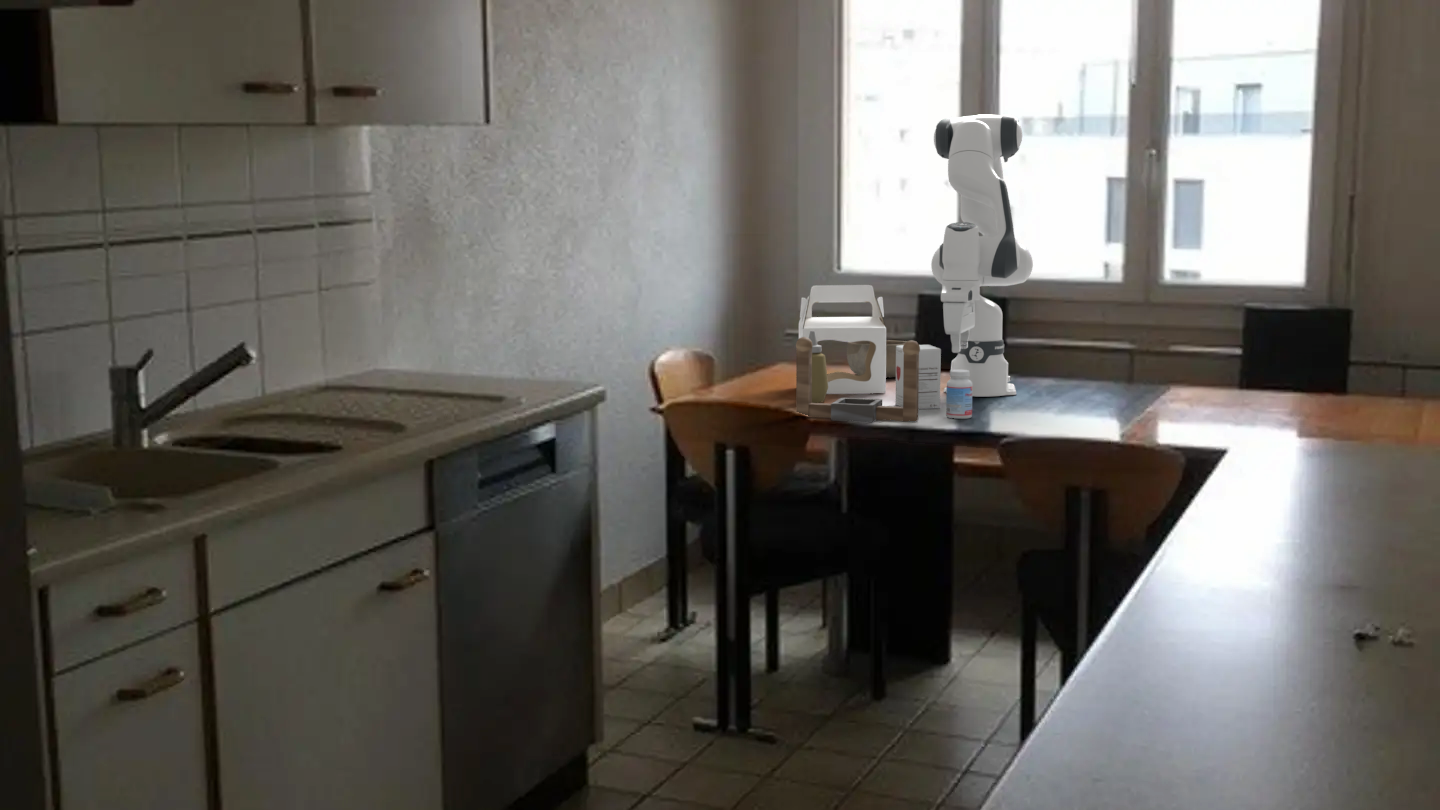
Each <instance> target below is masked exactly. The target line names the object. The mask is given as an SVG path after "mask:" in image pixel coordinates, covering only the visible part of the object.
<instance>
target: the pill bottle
mask: <svg viewBox="0 0 1440 810" xmlns="http://www.w3.org/2000/svg"><path fill="white" fill-rule="evenodd" d="M950 377H951V379H949V380H947V382H946V387H947V392H945V393H946V397H945V398H946V399H945V400H946V401H945V403H946V405H945V406H946V407H945V415H946V417H947V418H948V419H952V418H954V419H953V420H955V419H957V420H958V419H959V420H966V419H970V418H972V416H973V396H972V382H971V381H970V380H968V377H969V370H951V369H950V370H949V378H950Z"/></svg>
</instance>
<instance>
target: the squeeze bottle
mask: <svg viewBox="0 0 1440 810" xmlns="http://www.w3.org/2000/svg"><path fill="white" fill-rule="evenodd" d="M809 339H810V340H811V341H812V344H813V347H812V403H823V402H824V401H825V398H826V395H827V394H826V393H827V390H828V380H827V374H828V373H827V362H826V361H827V360H826V355H825V354H824V353H822V347H823V346H822V344H821V345H820V344H818V342H817V340H816V335H815V331H810V334H809Z"/></svg>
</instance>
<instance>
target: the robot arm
mask: <svg viewBox="0 0 1440 810" xmlns="http://www.w3.org/2000/svg"><path fill="white" fill-rule="evenodd" d="M1022 139H1023V131H1022V126H1021V124H1020V120H1019V119H1018V118H1017V117H1016V116H1015V115H1012V114H1005V113H1003V114H1002V115H999V114H985V113H984V114H976V115H966V116H965V115H964V116H958V117H954V118H953V117H952V116H951V117H947V118H944V119H942V120H940V121H938V123H937V124H936V126H935V130H934V133H933V145H934V148H935V150H936V153H937V155H938V156H940V157H941V158H942V159H945V160H948V161H947V177H948V182H949V183H950V186H951V187H952V189H953V190H955V192H957V193H958V194H959V195H960V198H959V199H960V203H959V204H960V208H959V209H960V210H959V211H960V213H959V214H960V219H961V222H960V221H959V222H952V223H950V224H948V225H946V227H945V230H944V237H943V243H941V245H939V248H937V250H936V251H935V252H934V254H933V256H932V258H931V264H930V265H931V267H930V269H931V272H932V275H933V276H934V279H935V280H936V281H937V282H938V283H939V284H940V285H941V292H940V302H942V303H943V304H942V309H943V311H942V312H943V327H944V333H945V334H946V335H950V342H951V352H952V353H953V354H957V355H956V357H955V358H953V359H952V360H951V363H950V370H969V377H968V380H970V381H971V382H972V397H1000V396H1002V397H1003V396H1015V395H1017V390H1016V386H1015V384H1014V383H1010V382H1011V380H1012V379H1011V378H1012V377H1011V376H1010V375H1009V362H1008V360H1006V359H1005V356H1004V353H1005V343H1004V342H1005V341H1004V339H1003V318H1004V317H1003V311H1002V308H1001V307H1000V305H998V304H997V303H996V302H994V301H993V300H990V299H989V298H986V297H984V296H982V295H981V293H980V292H981V288H980V287H988V286H989V287H1009V286H1014V285H1018V284H1023V283H1025V282H1026V281H1027V280H1028V279H1029V277H1030V276H1031V274H1032V273H1033V266H1034V265H1033V261H1034V260H1033V257H1032V254H1031V253H1030V251H1029V249H1027V247H1025V246H1024V245H1023V244H1022V243H1020V242H1019V241H1018V239H1016V238H1015V230H1014V222H1013V216H1012V215H1013V214H1012V209H1011V203H1010V202H1011V201H1010V199H1009V193H1008V188H1007V185H1006V182H1005V180H1004V173H1003V171H1004V170H1003V165H1002V164H1003V163H1002V160H1001V158H1003V161H1004V163H1007V162H1008V161H1009V159H1010V158H1011V157H1013V156H1014V155H1016V153H1018V152H1019V150H1020V146H1021V144H1022V141H1023V140H1022ZM980 234H981V235H980ZM949 378H950V379H951V377H950V376H949ZM950 379H949V380H950ZM943 393H947V386H946V387H944V388H943Z"/></svg>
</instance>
